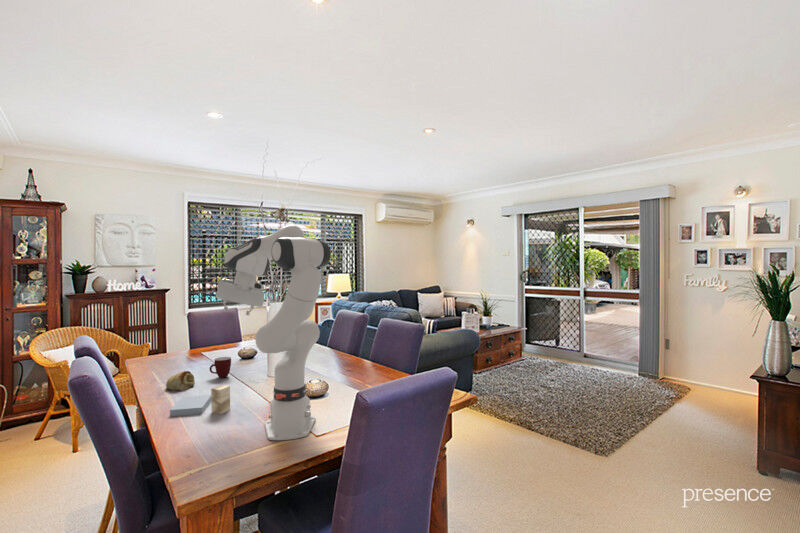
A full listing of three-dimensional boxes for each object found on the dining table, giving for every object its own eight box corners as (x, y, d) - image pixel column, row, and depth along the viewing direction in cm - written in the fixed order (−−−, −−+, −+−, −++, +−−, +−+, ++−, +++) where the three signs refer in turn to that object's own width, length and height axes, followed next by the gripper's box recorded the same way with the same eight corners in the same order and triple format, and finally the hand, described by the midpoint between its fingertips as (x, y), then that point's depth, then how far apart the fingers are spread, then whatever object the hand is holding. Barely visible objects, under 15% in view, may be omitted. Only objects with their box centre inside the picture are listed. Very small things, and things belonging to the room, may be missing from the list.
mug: (210, 381, 208) (210, 362, 208) (209, 377, 215) (208, 358, 215) (232, 377, 214) (232, 359, 213) (230, 374, 221) (230, 356, 220)
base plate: (202, 414, 165) (202, 407, 165) (170, 417, 162) (169, 410, 162) (212, 401, 180) (211, 394, 180) (182, 403, 178) (182, 396, 178)
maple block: (230, 409, 168) (229, 386, 168) (221, 414, 164) (220, 389, 164) (220, 408, 170) (220, 384, 170) (211, 412, 166) (211, 388, 165)
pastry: (193, 389, 196) (193, 373, 195) (164, 393, 191) (163, 376, 191) (196, 381, 209) (195, 366, 208) (168, 384, 204) (168, 369, 204)
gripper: (219, 276, 175) (210, 307, 172) (267, 287, 182) (260, 317, 179) (220, 278, 181) (211, 308, 177) (266, 288, 187) (259, 317, 184)
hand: (236, 313), depth 178 cm, fingers open, 8 cm apart
